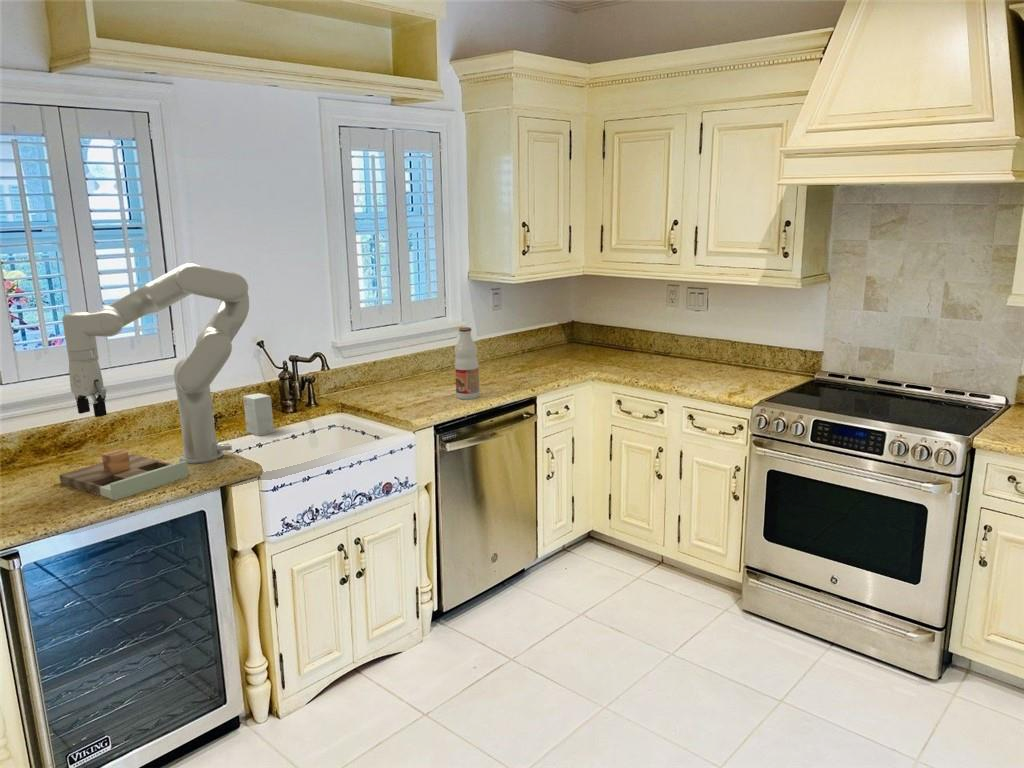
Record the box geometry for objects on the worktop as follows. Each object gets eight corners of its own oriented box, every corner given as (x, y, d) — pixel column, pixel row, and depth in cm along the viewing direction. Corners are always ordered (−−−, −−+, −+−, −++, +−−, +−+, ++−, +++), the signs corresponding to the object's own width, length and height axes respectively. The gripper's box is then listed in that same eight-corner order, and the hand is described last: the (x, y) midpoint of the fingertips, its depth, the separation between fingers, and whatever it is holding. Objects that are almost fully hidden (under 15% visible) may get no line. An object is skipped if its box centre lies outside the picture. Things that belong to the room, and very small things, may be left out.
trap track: (60, 483, 219) (59, 474, 219) (133, 461, 237) (132, 454, 237) (100, 495, 208) (99, 487, 207) (174, 472, 226) (173, 464, 225)
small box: (274, 432, 266) (271, 395, 263) (258, 436, 261) (254, 399, 259) (262, 428, 271) (259, 392, 268) (246, 432, 267) (242, 395, 264)
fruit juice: (479, 399, 304) (476, 329, 298) (455, 400, 304) (452, 330, 298) (480, 394, 313) (477, 326, 307) (456, 394, 313) (453, 326, 307)
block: (104, 470, 221) (101, 454, 220) (120, 465, 225) (118, 449, 224) (113, 473, 219) (111, 456, 218) (130, 468, 223) (128, 451, 222)
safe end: (100, 495, 208) (98, 480, 207) (174, 472, 226) (172, 457, 225) (115, 500, 204) (112, 484, 203) (188, 476, 222) (187, 461, 221)
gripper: (54, 355, 222) (63, 413, 225) (86, 360, 212) (95, 420, 216) (80, 351, 228) (89, 408, 231) (112, 355, 218) (121, 414, 222)
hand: (92, 414), depth 224 cm, fingers open, 8 cm apart
